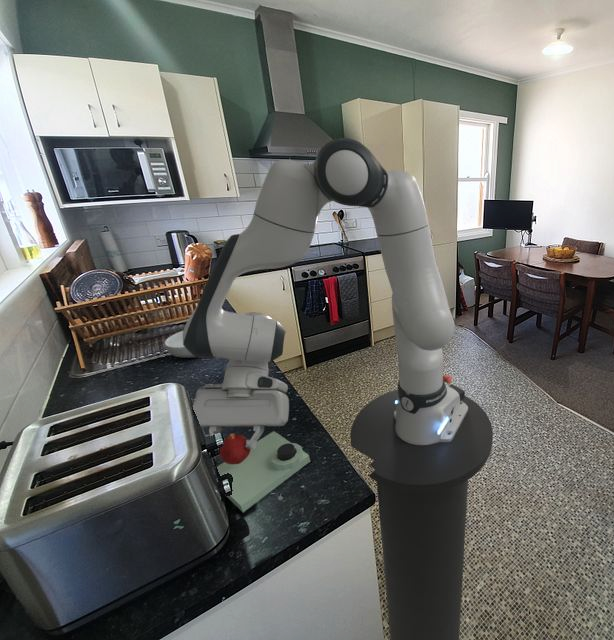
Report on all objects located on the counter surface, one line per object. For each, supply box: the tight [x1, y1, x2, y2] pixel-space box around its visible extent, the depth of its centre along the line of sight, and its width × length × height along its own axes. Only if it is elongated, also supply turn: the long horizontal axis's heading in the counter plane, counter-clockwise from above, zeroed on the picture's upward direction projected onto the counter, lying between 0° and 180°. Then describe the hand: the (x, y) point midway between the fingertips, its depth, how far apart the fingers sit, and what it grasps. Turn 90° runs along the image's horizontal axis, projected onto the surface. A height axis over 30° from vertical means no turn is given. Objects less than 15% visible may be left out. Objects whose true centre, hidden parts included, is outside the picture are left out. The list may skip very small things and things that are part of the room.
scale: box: [216, 430, 311, 513], centre depth 77 cm, size 16×14×4 cm
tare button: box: [277, 442, 295, 461], centre depth 77 cm, size 4×4×2 cm
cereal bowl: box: [164, 330, 196, 359], centre depth 127 cm, size 17×17×7 cm
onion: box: [219, 433, 251, 464], centre depth 73 cm, size 6×6×8 cm
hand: (233, 449), depth 73 cm, fingers closed on onion, 6 cm apart
